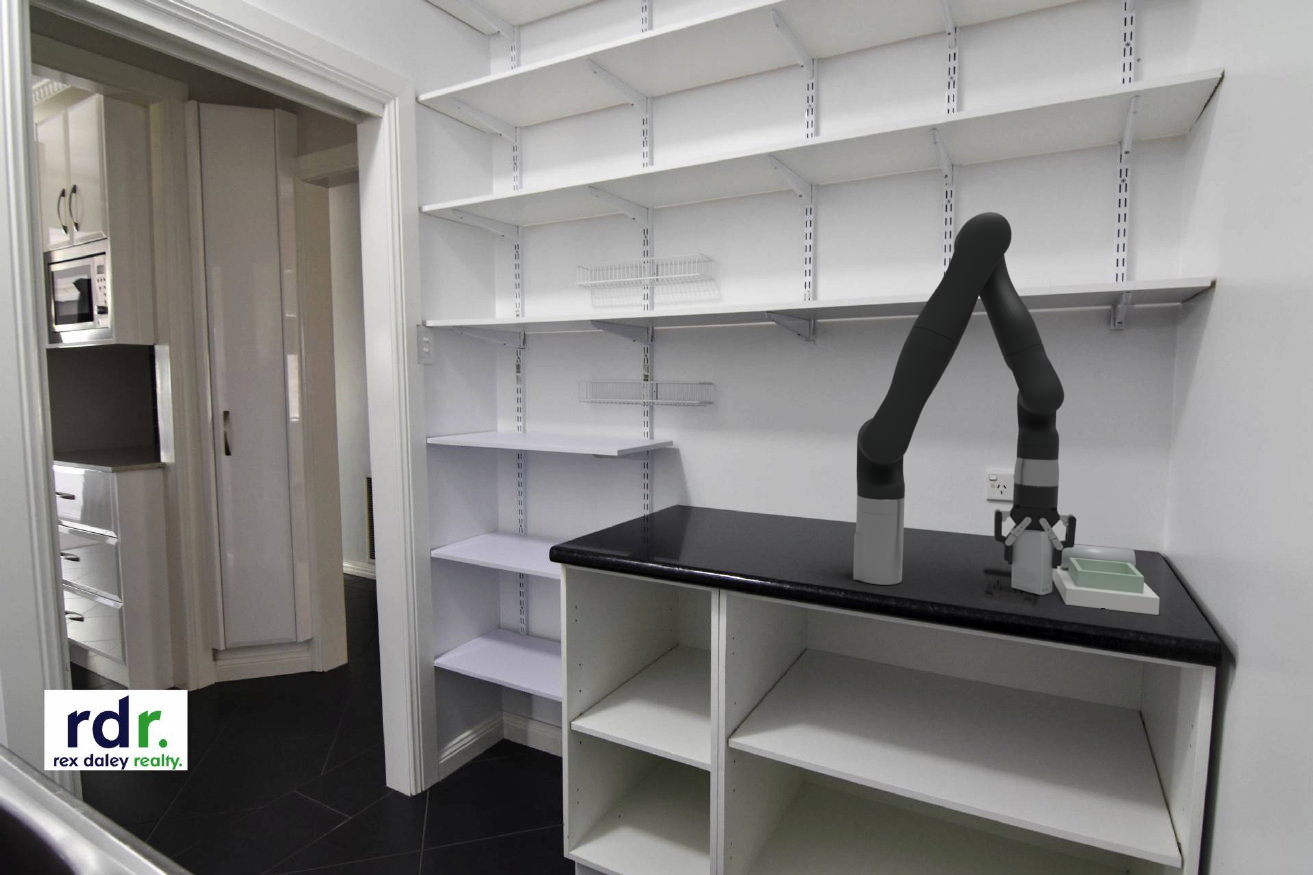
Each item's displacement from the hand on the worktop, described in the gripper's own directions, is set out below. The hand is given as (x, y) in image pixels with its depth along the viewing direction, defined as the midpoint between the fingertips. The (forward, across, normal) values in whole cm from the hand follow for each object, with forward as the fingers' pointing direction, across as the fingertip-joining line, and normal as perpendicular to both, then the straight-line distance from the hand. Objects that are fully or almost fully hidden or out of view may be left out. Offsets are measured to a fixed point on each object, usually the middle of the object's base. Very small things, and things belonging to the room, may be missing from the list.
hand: (1031, 565), depth 132 cm
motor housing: (+5, +12, +2) cm, 13 cm away
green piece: (+2, +12, 0) cm, 12 cm away
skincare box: (+5, 0, 0) cm, 5 cm away
